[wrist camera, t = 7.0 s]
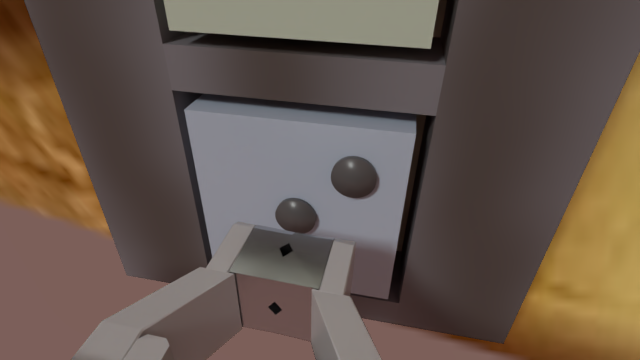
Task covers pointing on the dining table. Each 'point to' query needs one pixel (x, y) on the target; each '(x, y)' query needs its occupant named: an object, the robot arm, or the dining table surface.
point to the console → (364, 93)
